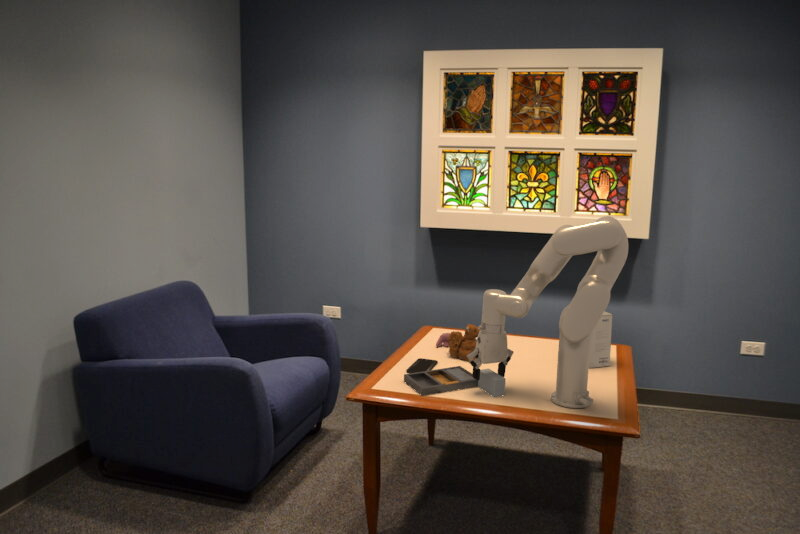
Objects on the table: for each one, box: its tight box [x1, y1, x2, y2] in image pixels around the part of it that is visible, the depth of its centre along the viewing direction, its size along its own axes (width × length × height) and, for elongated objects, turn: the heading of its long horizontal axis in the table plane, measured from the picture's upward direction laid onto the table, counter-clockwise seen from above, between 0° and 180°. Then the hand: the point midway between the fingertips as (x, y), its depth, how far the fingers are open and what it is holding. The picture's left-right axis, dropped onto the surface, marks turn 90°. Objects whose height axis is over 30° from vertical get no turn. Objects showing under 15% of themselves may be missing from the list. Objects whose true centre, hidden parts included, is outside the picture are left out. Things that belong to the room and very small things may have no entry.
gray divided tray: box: [403, 365, 479, 397], centre depth 210 cm, size 14×22×3 cm, turn 115°
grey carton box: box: [589, 310, 614, 369], centre depth 229 cm, size 16×8×20 cm, turn 105°
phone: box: [405, 358, 438, 374], centre depth 226 cm, size 8×1×15 cm
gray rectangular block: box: [477, 368, 506, 398], centre depth 204 cm, size 10×4×6 cm, turn 25°
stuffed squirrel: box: [448, 323, 481, 363], centre depth 237 cm, size 10×14×13 cm
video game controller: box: [435, 332, 451, 348], centre depth 249 cm, size 10×5×7 cm, turn 58°
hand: (488, 377), depth 204 cm, fingers open, 9 cm apart
